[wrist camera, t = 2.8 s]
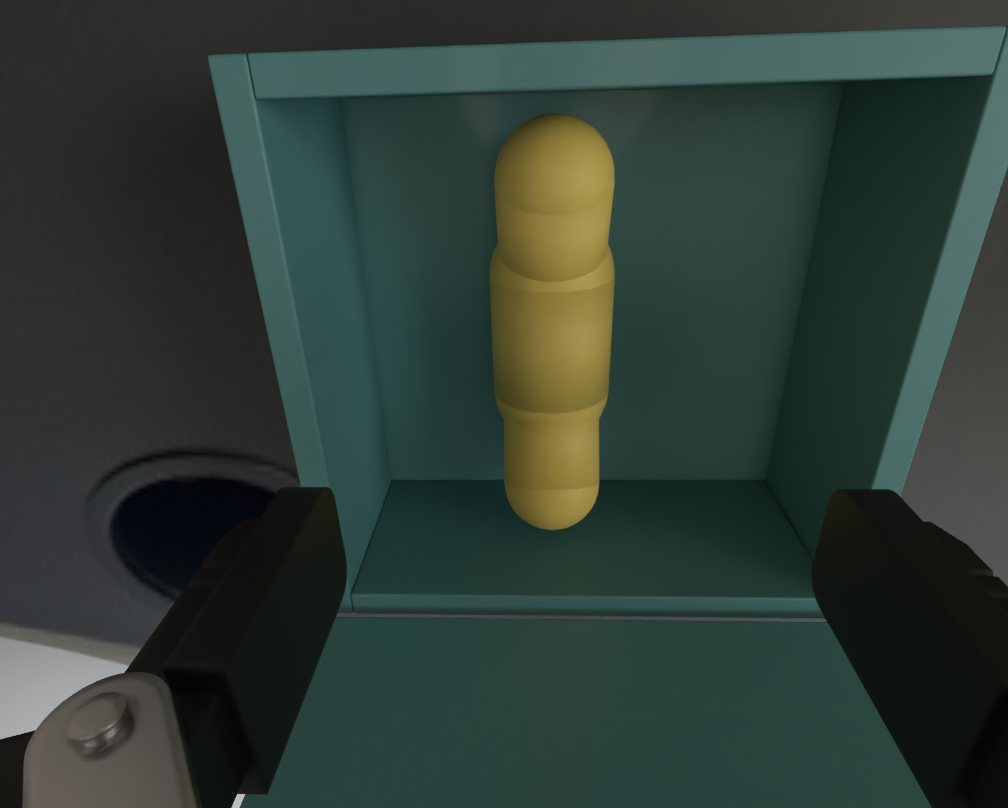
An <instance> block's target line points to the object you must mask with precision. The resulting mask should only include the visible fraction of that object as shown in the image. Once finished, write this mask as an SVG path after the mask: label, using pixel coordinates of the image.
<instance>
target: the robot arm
mask: <svg viewBox="0 0 1008 808" xmlns="http://www.w3.org/2000/svg"><path fill="white" fill-rule="evenodd" d="M811 578H812V587H813V592H814V596H815V599H816V601H817V604H818V606H819V608H820V610H821V611H822V613H823V615H824V617H825V619H826V620H827V622H828V624H829V626H830V627H831V629H832V631H833V633H834V635H835V636H836V638H837V640H838V642H839V643H840V645H841V647H842V649H843V651H844V652H845V654H846V656H847V658H848V659H849V661H850V663H851V665H852V667H853V668H854V670H855V672H856V674H857V675H858V677H859V679H860V681H861V683H862V684H863V686H864V688H865V690H866V692H867V693H868V695H869V697H870V699H871V700H872V702H873V704H874V706H875V708H876V709H877V711H878V713H879V715H880V716H881V718H882V720H883V722H884V724H885V725H886V727H887V729H888V731H889V732H890V734H891V736H892V738H893V740H894V741H895V743H896V745H897V747H898V748H899V750H900V752H901V754H902V756H903V757H904V759H905V761H906V763H907V764H908V766H909V768H910V770H911V772H912V773H913V775H914V777H915V779H916V781H917V782H918V784H919V786H920V788H921V789H922V791H923V793H924V795H925V797H926V798H927V800H928V802H929V804H930V805H931V807H932V808H1008V586H1007V585H1006V584H1005V583H1004V582H1003V581H1002V580H1001V579H1000V578H999V577H994V576H993V571H992V570H991V569H990V568H989V567H988V566H987V565H986V564H985V563H984V562H983V561H982V560H981V559H980V558H979V557H978V556H977V555H976V554H975V553H974V551H973V550H972V549H971V548H970V547H969V546H968V545H967V544H965V543H963V542H962V541H960V540H959V539H957V538H955V537H954V536H952V535H951V534H949V533H947V532H946V531H944V530H943V529H941V528H939V527H938V526H936V525H935V524H933V523H931V522H923V521H922V520H921V519H920V518H919V517H918V516H917V515H916V513H915V512H914V511H913V510H912V509H911V508H910V507H909V506H908V505H907V504H906V503H905V502H904V500H903V499H902V498H901V497H900V496H899V495H898V494H897V493H896V492H894V491H892V490H890V489H838V490H836V491H834V492H833V493H832V495H831V497H830V499H829V502H828V505H827V509H826V513H825V517H824V521H823V525H822V529H821V533H820V536H819V540H818V544H817V548H816V552H815V556H814V560H813V564H812V571H811ZM346 581H347V560H346V554H345V549H344V544H343V538H342V533H341V528H340V523H339V517H338V512H337V507H336V501H335V497H334V494H333V492H332V490H331V489H330V488H329V487H283V488H281V489H280V490H279V491H278V492H277V494H276V495H275V497H274V498H273V500H272V501H271V503H270V504H269V506H268V507H267V509H266V510H265V512H264V513H263V515H262V516H261V518H247V519H246V520H244V521H243V522H242V523H241V524H239V525H238V526H237V527H235V528H234V529H233V530H231V531H230V532H229V533H227V534H226V535H225V536H223V537H222V538H221V539H220V540H219V542H218V543H217V544H216V546H215V547H214V549H213V550H212V551H211V553H210V554H209V556H208V557H207V558H206V560H205V561H204V563H203V568H199V570H198V571H197V572H196V574H195V575H194V577H193V578H192V579H191V581H190V582H189V583H188V585H189V586H188V589H184V590H183V592H182V593H181V595H180V596H179V597H178V599H177V600H176V602H175V603H174V604H173V606H172V607H171V609H170V610H169V611H168V613H167V614H166V616H165V617H164V618H163V620H162V621H161V623H160V624H159V625H158V627H157V628H156V630H155V631H154V632H153V634H152V635H151V637H150V638H149V639H148V641H147V642H146V644H145V645H144V646H143V648H142V649H141V650H140V652H139V653H138V655H137V656H136V657H135V659H134V660H133V662H132V663H131V664H130V666H129V667H128V669H127V670H126V671H125V673H122V674H117V675H114V676H110V677H107V678H104V679H102V680H99V681H97V682H95V683H93V684H90V685H88V686H86V687H85V688H83V689H81V690H80V691H78V692H76V693H75V694H73V695H72V696H70V697H69V698H68V699H66V700H65V701H63V702H62V703H61V704H60V705H59V706H57V707H56V708H55V709H54V710H53V711H52V712H51V713H50V714H49V715H48V716H47V717H46V718H45V719H44V721H43V722H42V723H41V724H40V725H39V727H38V728H37V730H35V731H31V732H28V733H24V734H20V735H16V736H12V737H8V738H4V739H0V808H231V807H232V805H233V802H234V800H235V798H236V795H237V794H261V795H267V794H268V792H269V789H270V787H271V784H272V781H273V779H274V776H275V774H276V771H277V768H278V766H279V763H280V761H281V758H282V755H283V753H284V750H285V748H286V745H287V742H288V740H289V737H290V735H291V732H292V729H293V727H294V724H295V722H296V719H297V716H298V714H299V711H300V709H301V706H302V703H303V701H304V698H305V696H306V693H307V690H308V688H309V685H310V683H311V680H312V677H313V675H314V672H315V670H316V667H317V664H318V662H319V659H320V657H321V654H322V651H323V649H324V646H325V644H326V641H327V638H328V636H329V633H330V631H331V628H332V625H333V623H334V620H335V618H336V615H337V612H338V610H339V607H340V605H341V602H342V599H343V596H344V593H345V588H346Z"/></svg>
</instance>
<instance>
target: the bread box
mask: <svg viewBox="0 0 1008 808" xmlns="http://www.w3.org/2000/svg"><path fill="white" fill-rule="evenodd" d="M208 63H209V67H210V72H211V77H212V81H213V86H214V90H215V95H216V100H217V104H218V109H219V113H220V118H221V123H222V127H223V132H224V136H225V141H226V146H227V150H228V155H229V159H230V164H231V169H232V173H233V178H234V182H235V187H236V191H237V196H238V201H239V205H240V210H241V214H242V219H243V224H244V228H245V233H246V237H247V242H248V247H249V251H250V256H251V260H252V265H253V270H254V274H255V279H256V283H257V288H258V293H259V297H260V302H261V306H262V311H263V315H264V320H265V325H266V329H267V334H268V338H269V343H270V348H271V352H272V357H273V361H274V366H275V371H276V375H277V380H278V384H279V389H280V394H281V398H282V403H283V407H284V412H285V417H286V421H287V426H288V430H289V435H290V440H291V444H292V449H293V453H294V458H295V462H296V467H297V472H298V476H299V481H300V485H301V487H329V488H330V489H331V490H332V492H333V494H334V497H335V501H336V507H337V512H338V517H339V523H340V528H341V533H342V538H343V544H344V549H345V554H346V560H347V581H346V588H345V593H344V596H343V599H342V602H341V605H340V607H339V610H338V612H337V613H353V612H354V613H356V614H441V615H535V616H630V617H725V618H820V619H825V617H824V615H823V613H822V611H821V610H820V608H819V606H818V604H817V601H816V599H815V596H814V592H813V587H812V578H811V571H812V564H813V560H814V556H815V552H816V548H817V544H818V540H819V536H820V533H821V529H822V525H823V521H824V517H825V513H826V509H827V505H828V502H829V499H830V497H831V495H832V493H833V492H834V491H836V490H838V489H890V490H892V491H894V492H896V493H897V494H898V495H899V496H900V495H901V492H902V489H903V486H904V483H905V480H906V477H907V474H908V471H909V468H910V464H911V461H912V458H913V455H914V452H915V449H916V446H917V443H918V440H919V437H920V434H921V431H922V428H923V425H924V421H925V418H926V415H927V412H928V409H929V406H930V403H931V400H932V397H933V394H934V391H935V388H936V385H937V382H938V379H939V375H940V372H941V369H942V366H943V363H944V360H945V357H946V354H947V351H948V348H949V345H950V342H951V339H952V336H953V332H954V329H955V326H956V323H957V320H958V317H959V314H960V311H961V308H962V305H963V302H964V299H965V296H966V293H967V290H968V286H969V283H970V280H971V277H972V274H973V271H974V268H975V265H976V262H977V259H978V256H979V253H980V250H981V247H982V243H983V240H984V237H985V234H986V231H987V228H988V225H989V222H990V219H991V216H992V213H993V210H994V207H995V204H996V200H997V197H998V194H999V191H1000V188H1001V185H1002V182H1003V179H1004V176H1005V173H1006V170H1007V167H1008V25H1007V26H1003V25H999V26H972V27H945V28H917V29H890V30H863V31H835V32H808V33H781V34H753V35H726V36H698V37H671V38H644V39H616V40H589V41H562V42H534V43H507V44H480V45H452V46H425V47H398V48H370V49H343V50H315V51H288V52H261V53H249V54H245V53H235V54H211V55H209V56H208ZM551 113H561V114H567V115H572V116H575V117H578V118H580V119H582V120H584V121H585V122H587V123H588V124H590V125H591V126H593V127H594V128H595V129H596V130H597V131H598V132H599V134H600V135H601V136H602V137H603V139H604V140H605V141H606V143H607V145H608V148H609V150H610V152H611V155H612V158H613V163H614V179H615V184H614V193H613V202H612V211H611V220H610V229H609V238H608V244H609V246H610V249H611V252H612V256H613V260H614V271H615V283H614V302H613V320H612V338H611V356H610V374H609V391H608V397H607V402H606V405H605V407H604V410H603V412H602V414H601V416H600V418H599V489H598V495H597V498H596V501H595V503H594V505H593V507H592V509H591V510H590V511H589V512H588V514H587V515H586V516H585V517H584V518H583V519H582V520H580V521H579V522H578V523H576V524H574V525H572V526H570V527H568V528H564V529H558V530H546V529H541V528H537V527H535V526H532V525H530V524H528V523H527V522H525V521H524V520H523V519H522V518H520V517H519V516H518V515H517V514H516V512H515V511H514V510H513V509H512V507H511V505H510V503H509V501H508V498H507V495H506V492H505V484H504V418H503V417H502V415H501V413H500V411H499V409H498V406H497V404H496V399H495V392H494V376H493V350H492V325H491V300H490V263H491V259H492V255H493V251H494V249H495V247H496V245H497V243H498V237H497V221H496V205H495V189H494V172H495V167H496V163H497V159H498V155H499V153H500V151H501V149H502V147H503V145H504V143H505V142H506V140H507V139H508V137H509V136H510V135H511V134H512V133H513V132H514V131H515V130H516V129H517V128H518V127H519V126H521V125H522V124H524V123H525V122H527V121H528V120H530V119H532V118H534V117H537V116H541V115H545V114H551Z"/></svg>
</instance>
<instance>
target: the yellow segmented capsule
mask: <svg viewBox="0 0 1008 808" xmlns="http://www.w3.org/2000/svg"><path fill="white" fill-rule="evenodd" d="M614 184H615V179H614V163H613V158H612V155H611V152H610V150H609V148H608V145H607V143H606V141H605V140H604V139H603V137H602V136H601V135H600V134H599V132H598V131H597V130H596V129H595V128H594V127H593V126H591V125H590V124H588V123H587V122H585V121H584V120H582V119H580V118H578V117H575V116H572V115H567V114H561V113H551V114H545V115H541V116H537V117H534V118H532V119H530V120H528V121H527V122H525V123H524V124H522V125H521V126H519V127H518V128H517V129H516V130H515V131H514V132H513V133H512V134H511V135H510V136H509V137H508V139H507V140H506V142H505V143H504V145H503V147H502V149H501V151H500V153H499V155H498V159H497V163H496V167H495V172H494V189H495V205H496V221H497V237H498V243H497V245H496V247H495V249H494V251H493V255H492V259H491V263H490V300H491V325H492V350H493V376H494V392H495V399H496V404H497V406H498V409H499V411H500V413H501V415H502V417H503V418H504V484H505V492H506V495H507V498H508V501H509V503H510V505H511V507H512V509H513V510H514V511H515V512H516V514H517V515H518V516H519V517H520V518H522V519H523V520H524V521H525V522H527V523H528V524H530V525H532V526H535V527H537V528H541V529H546V530H558V529H564V528H568V527H570V526H572V525H574V524H576V523H578V522H579V521H580V520H582V519H583V518H584V517H585V516H586V515H587V514H588V512H589V511H590V510H591V509H592V507H593V505H594V503H595V501H596V498H597V495H598V489H599V418H600V416H601V414H602V412H603V410H604V407H605V405H606V402H607V397H608V391H609V374H610V356H611V338H612V320H613V302H614V283H615V271H614V260H613V256H612V252H611V249H610V246H609V244H608V238H609V229H610V220H611V211H612V202H613V193H614Z"/></svg>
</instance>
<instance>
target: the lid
mask: <svg viewBox="0 0 1008 808" xmlns="http://www.w3.org/2000/svg"><path fill="white" fill-rule="evenodd" d="M240 808H932V807H931V805H930V804H929V802H928V800H927V798H926V797H925V795H924V793H923V791H922V789H921V788H920V786H919V784H918V782H917V781H916V779H915V777H914V775H913V773H912V772H911V770H910V768H909V766H908V764H907V763H906V761H905V759H904V757H903V756H902V754H901V752H900V750H899V748H898V747H897V745H896V743H895V741H894V740H893V738H892V736H891V734H890V732H889V731H888V729H887V727H886V725H885V724H884V722H883V720H882V718H881V716H880V715H879V713H878V711H877V709H876V708H875V706H874V704H873V702H872V700H871V699H870V697H869V695H868V693H867V692H866V690H865V688H864V686H863V684H862V683H861V681H860V679H859V677H858V675H857V674H856V672H855V670H854V668H853V667H852V665H851V663H850V661H849V659H848V658H847V656H846V654H845V652H844V651H843V649H842V647H841V645H840V643H839V642H838V640H837V638H836V636H835V635H834V633H833V631H832V629H831V627H830V626H829V624H828V622H751V621H658V620H566V619H474V618H382V617H336V618H335V620H334V623H333V625H332V628H331V631H330V633H329V636H328V638H327V641H326V644H325V646H324V649H323V651H322V654H321V657H320V659H319V662H318V664H317V667H316V670H315V672H314V675H313V677H312V680H311V683H310V685H309V688H308V690H307V693H306V696H305V698H304V701H303V703H302V706H301V709H300V711H299V714H298V716H297V719H296V722H295V724H294V727H293V729H292V732H291V735H290V737H289V740H288V742H287V745H286V748H285V750H284V753H283V755H282V758H281V761H280V763H279V766H278V768H277V771H276V774H275V776H274V779H273V781H272V784H271V787H270V789H269V792H268V794H267V795H261V794H245V797H244V799H243V801H242V804H241V806H240Z"/></svg>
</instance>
